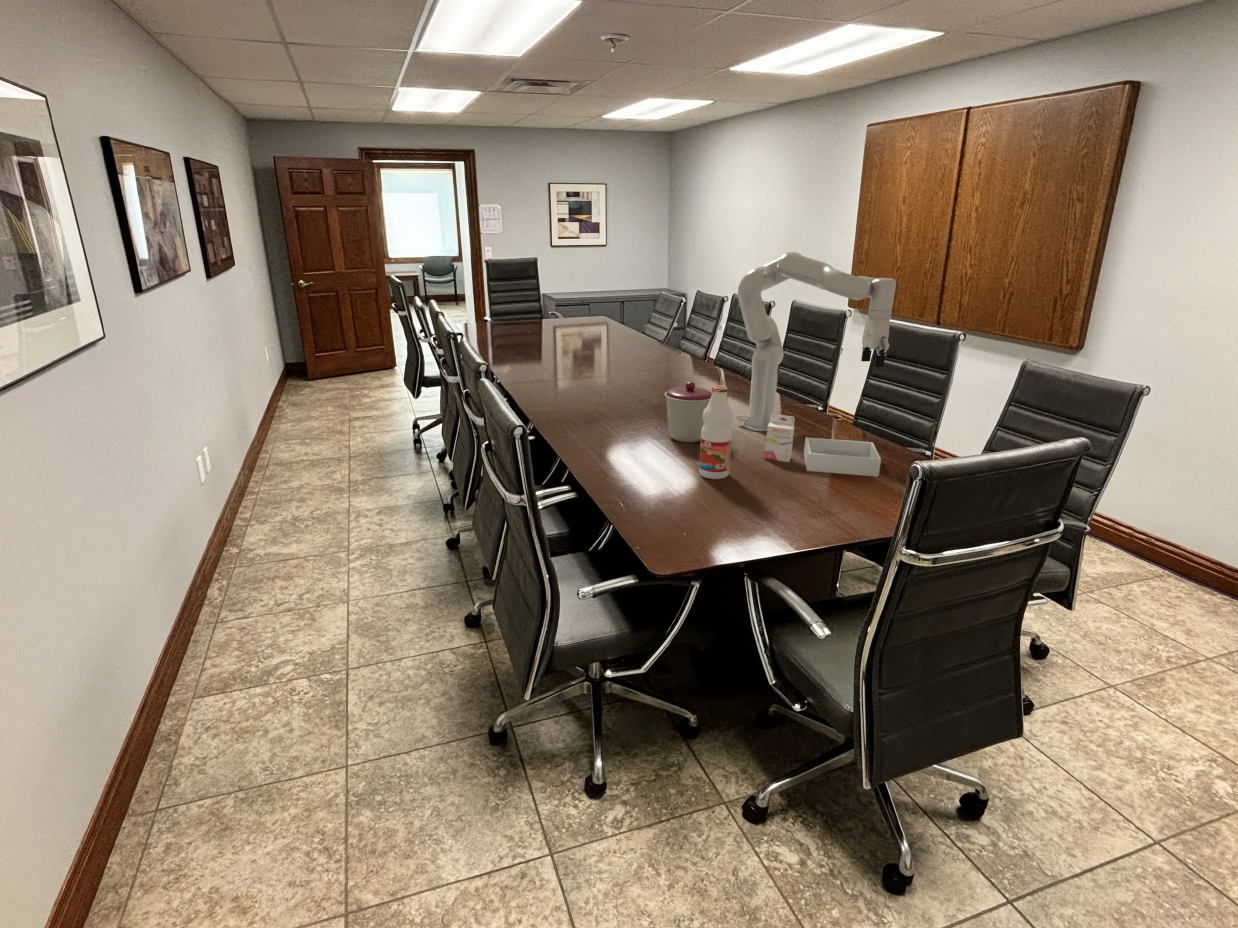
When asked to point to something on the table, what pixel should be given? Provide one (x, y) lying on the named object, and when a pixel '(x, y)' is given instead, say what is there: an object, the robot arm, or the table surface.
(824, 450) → the tray
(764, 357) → the robot arm
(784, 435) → the ink cartridge box
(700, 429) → the canister
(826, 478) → the table surface
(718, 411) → the fruit juice
